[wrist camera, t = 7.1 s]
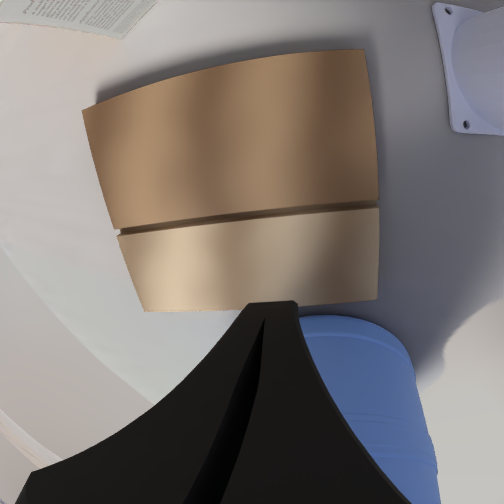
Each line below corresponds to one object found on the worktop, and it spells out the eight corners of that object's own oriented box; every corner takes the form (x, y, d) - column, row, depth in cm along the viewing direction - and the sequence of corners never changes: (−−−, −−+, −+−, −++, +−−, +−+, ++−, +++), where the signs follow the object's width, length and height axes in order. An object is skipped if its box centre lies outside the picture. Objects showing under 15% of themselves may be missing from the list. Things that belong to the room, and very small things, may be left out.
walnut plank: (359, 52, 13) (363, 49, 12) (373, 192, 16) (378, 199, 15) (92, 108, 16) (81, 110, 15) (122, 222, 20) (114, 229, 19)
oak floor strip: (374, 195, 17) (378, 202, 16) (373, 289, 19) (377, 299, 18) (123, 224, 20) (114, 231, 19) (150, 302, 22) (144, 311, 21)
